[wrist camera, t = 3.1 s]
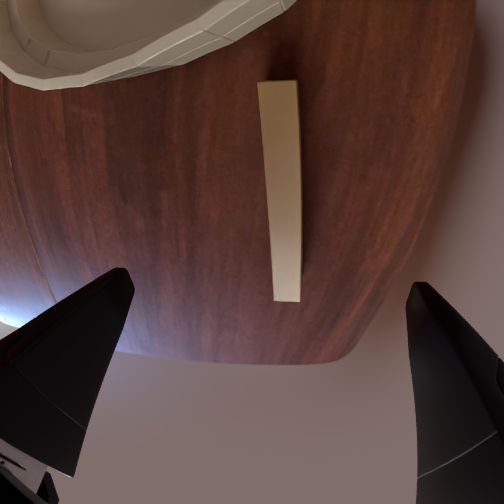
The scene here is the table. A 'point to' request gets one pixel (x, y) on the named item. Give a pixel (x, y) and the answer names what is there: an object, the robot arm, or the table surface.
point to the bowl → (117, 36)
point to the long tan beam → (283, 183)
